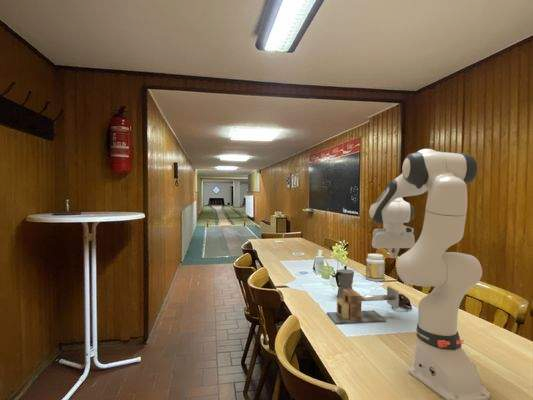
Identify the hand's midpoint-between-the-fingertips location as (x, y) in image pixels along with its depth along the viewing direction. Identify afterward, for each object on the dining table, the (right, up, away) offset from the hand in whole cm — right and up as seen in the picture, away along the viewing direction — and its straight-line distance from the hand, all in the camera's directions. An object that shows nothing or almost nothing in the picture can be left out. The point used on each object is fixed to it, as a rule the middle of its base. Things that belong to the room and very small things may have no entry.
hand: (393, 257), depth 145 cm
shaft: (-9, -23, -1) cm, 25 cm away
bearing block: (-18, -28, -2) cm, 33 cm away
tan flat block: (-25, -23, -3) cm, 34 cm away
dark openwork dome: (+9, -28, +12) cm, 32 cm away
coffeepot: (-17, -28, +26) cm, 41 cm away
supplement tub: (+15, -27, +65) cm, 72 cm away
